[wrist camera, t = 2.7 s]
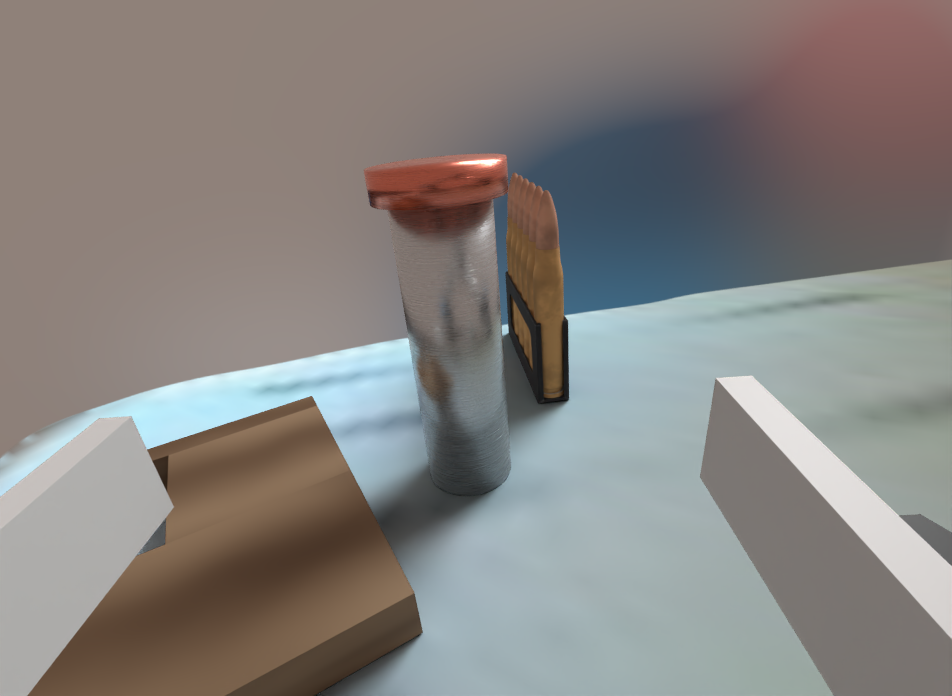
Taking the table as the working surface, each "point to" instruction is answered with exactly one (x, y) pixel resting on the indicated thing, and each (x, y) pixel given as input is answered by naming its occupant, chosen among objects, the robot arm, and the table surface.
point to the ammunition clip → (536, 290)
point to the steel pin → (452, 308)
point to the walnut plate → (247, 574)
